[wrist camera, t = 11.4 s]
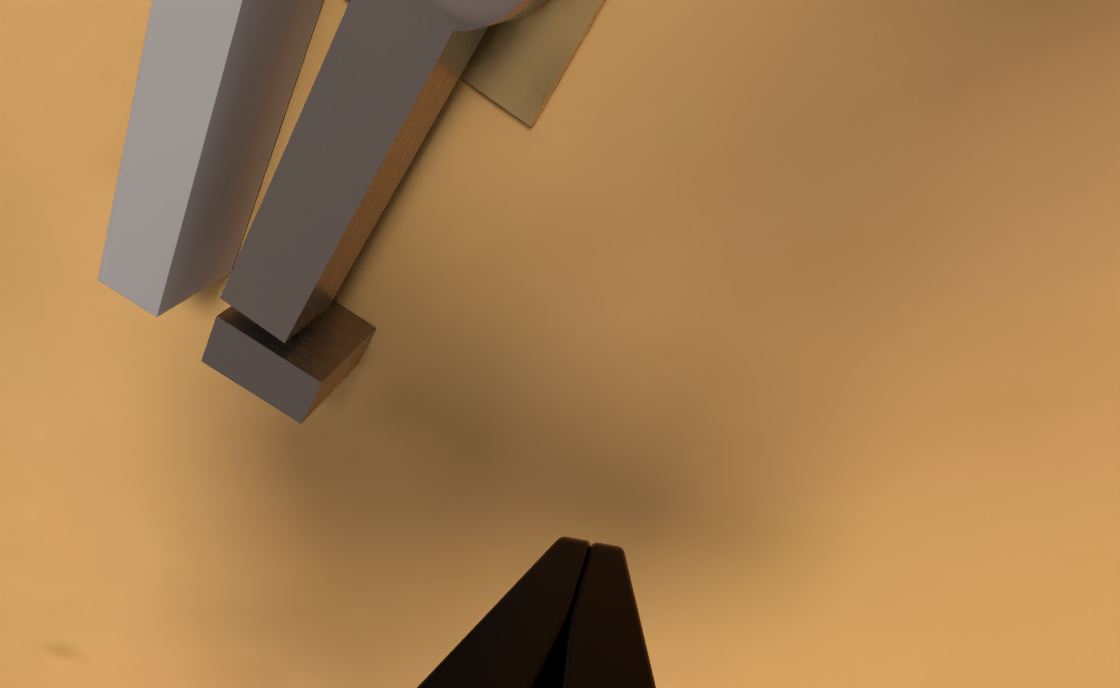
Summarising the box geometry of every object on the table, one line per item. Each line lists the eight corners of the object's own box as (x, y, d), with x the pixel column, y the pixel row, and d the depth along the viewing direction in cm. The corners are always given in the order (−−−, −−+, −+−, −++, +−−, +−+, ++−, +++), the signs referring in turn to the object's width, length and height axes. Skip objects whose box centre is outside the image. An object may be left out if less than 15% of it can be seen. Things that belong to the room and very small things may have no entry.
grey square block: (285, 269, 22) (216, 316, 20) (375, 328, 23) (321, 382, 20) (268, 311, 24) (201, 361, 21) (355, 366, 24) (301, 424, 21)
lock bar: (463, -230, 14) (410, -267, 12) (611, -101, 15) (587, -113, 12) (251, 245, 21) (193, 279, 19) (355, 319, 22) (310, 361, 20)
